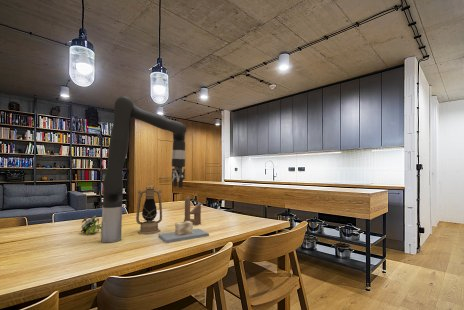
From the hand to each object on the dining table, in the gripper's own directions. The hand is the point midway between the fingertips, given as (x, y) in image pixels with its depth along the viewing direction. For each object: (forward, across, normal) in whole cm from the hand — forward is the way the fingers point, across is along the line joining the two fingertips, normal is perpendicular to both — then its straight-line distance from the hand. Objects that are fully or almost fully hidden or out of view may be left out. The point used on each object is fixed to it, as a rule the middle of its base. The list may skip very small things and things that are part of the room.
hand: (177, 187), depth 138 cm
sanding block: (+25, +5, +3) cm, 26 cm away
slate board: (+27, +5, +3) cm, 27 cm away
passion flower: (+28, -32, -39) cm, 58 cm away
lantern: (+27, -16, -11) cm, 33 cm away
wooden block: (+27, -19, +18) cm, 38 cm away
